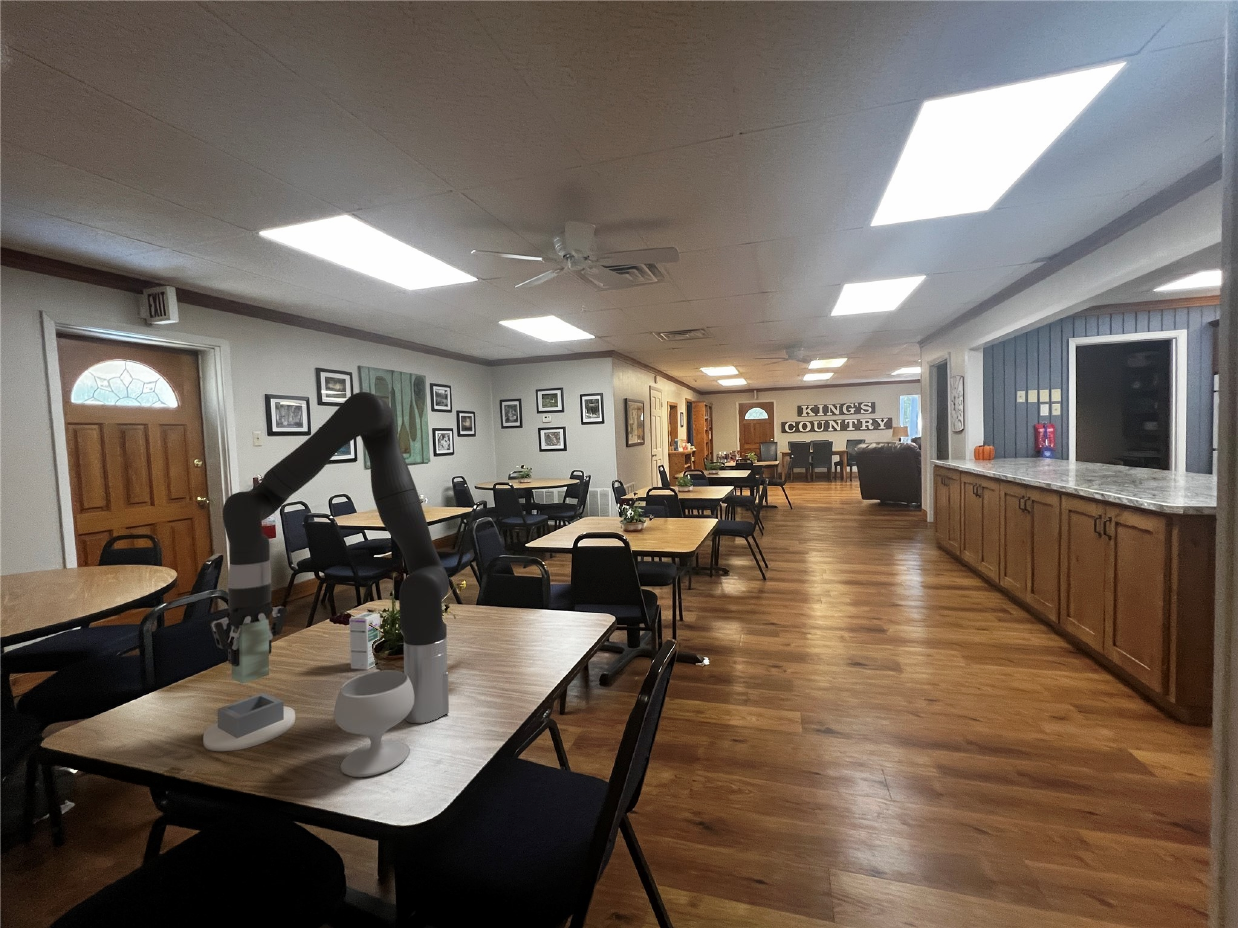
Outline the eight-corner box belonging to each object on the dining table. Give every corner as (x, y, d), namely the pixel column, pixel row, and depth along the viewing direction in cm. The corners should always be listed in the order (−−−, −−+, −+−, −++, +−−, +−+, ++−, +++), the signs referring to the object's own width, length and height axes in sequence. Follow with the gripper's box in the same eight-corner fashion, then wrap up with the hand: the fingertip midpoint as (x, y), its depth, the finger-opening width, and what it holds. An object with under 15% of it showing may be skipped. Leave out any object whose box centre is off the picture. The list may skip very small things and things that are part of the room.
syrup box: (368, 670, 141) (367, 618, 141) (349, 668, 142) (349, 617, 142) (381, 662, 146) (380, 612, 146) (363, 660, 147) (363, 611, 147)
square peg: (257, 670, 112) (257, 616, 112) (269, 674, 110) (268, 620, 110) (231, 678, 108) (231, 622, 108) (242, 683, 106) (242, 626, 106)
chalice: (381, 734, 107) (381, 663, 107) (430, 749, 101) (429, 674, 101) (317, 770, 94) (316, 690, 94) (369, 790, 88) (368, 704, 88)
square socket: (273, 706, 120) (272, 683, 120) (309, 722, 112) (309, 698, 112) (189, 737, 106) (189, 711, 106) (224, 759, 98) (224, 731, 98)
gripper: (218, 592, 101) (218, 676, 101) (294, 578, 113) (294, 653, 113) (202, 587, 105) (202, 669, 105) (277, 574, 117) (277, 647, 117)
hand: (250, 660), depth 109 cm, fingers closed on square peg, 5 cm apart
